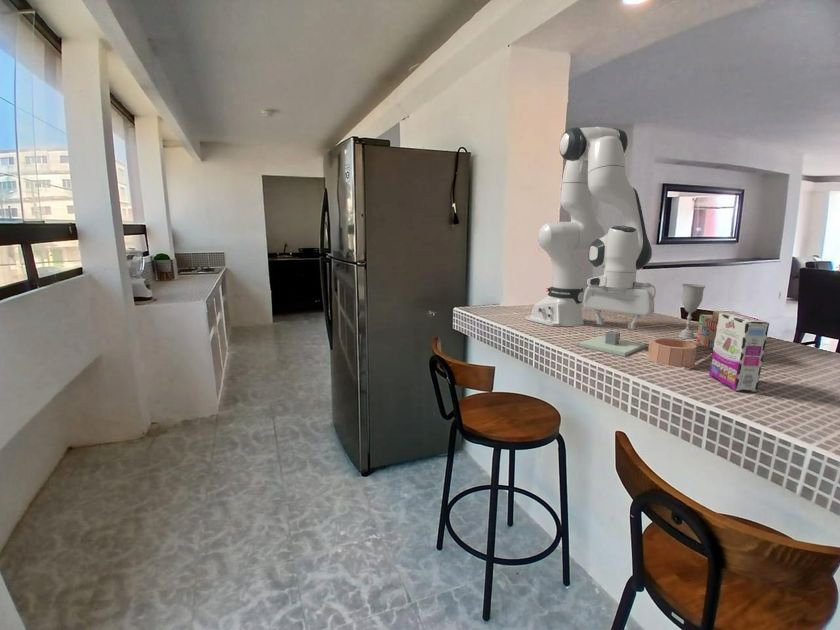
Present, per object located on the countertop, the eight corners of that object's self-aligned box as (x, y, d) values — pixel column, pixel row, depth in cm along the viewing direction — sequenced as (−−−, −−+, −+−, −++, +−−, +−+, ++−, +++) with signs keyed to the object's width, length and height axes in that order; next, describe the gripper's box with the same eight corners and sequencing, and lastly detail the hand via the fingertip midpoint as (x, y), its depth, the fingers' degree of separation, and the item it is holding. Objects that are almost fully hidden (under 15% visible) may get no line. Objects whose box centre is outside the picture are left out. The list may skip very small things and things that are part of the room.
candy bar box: (758, 393, 96) (771, 322, 93) (735, 391, 97) (746, 321, 94) (728, 376, 107) (739, 312, 104) (707, 375, 108) (717, 312, 104)
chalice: (699, 340, 142) (706, 287, 138) (675, 337, 145) (682, 285, 142) (697, 335, 148) (705, 284, 145) (675, 333, 151) (681, 283, 148)
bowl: (641, 361, 119) (643, 342, 118) (656, 354, 126) (659, 336, 125) (685, 371, 111) (688, 351, 110) (699, 362, 118) (701, 343, 117)
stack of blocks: (695, 341, 142) (700, 305, 139) (716, 342, 140) (722, 306, 138) (725, 360, 121) (732, 318, 119) (750, 361, 120) (757, 319, 117)
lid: (579, 345, 132) (580, 331, 131) (600, 338, 141) (601, 325, 140) (624, 355, 122) (626, 340, 121) (644, 347, 131) (646, 333, 130)
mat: (574, 347, 132) (574, 345, 132) (599, 339, 143) (599, 337, 142) (626, 359, 120) (626, 357, 120) (649, 349, 131) (649, 347, 131)
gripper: (660, 283, 121) (655, 330, 124) (592, 278, 136) (589, 320, 139) (651, 284, 117) (647, 333, 120) (582, 279, 132) (579, 322, 135)
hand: (615, 326), depth 129 cm, fingers open, 8 cm apart
